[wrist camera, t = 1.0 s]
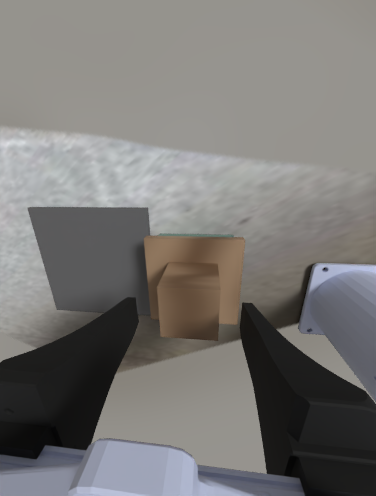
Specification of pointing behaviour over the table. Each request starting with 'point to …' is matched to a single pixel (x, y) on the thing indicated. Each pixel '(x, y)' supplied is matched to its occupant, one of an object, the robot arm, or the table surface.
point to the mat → (93, 255)
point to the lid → (194, 283)
